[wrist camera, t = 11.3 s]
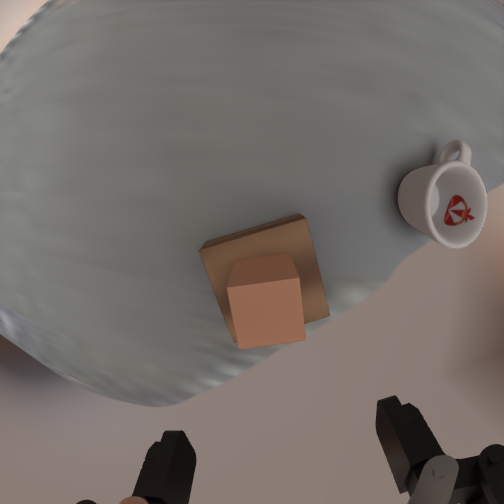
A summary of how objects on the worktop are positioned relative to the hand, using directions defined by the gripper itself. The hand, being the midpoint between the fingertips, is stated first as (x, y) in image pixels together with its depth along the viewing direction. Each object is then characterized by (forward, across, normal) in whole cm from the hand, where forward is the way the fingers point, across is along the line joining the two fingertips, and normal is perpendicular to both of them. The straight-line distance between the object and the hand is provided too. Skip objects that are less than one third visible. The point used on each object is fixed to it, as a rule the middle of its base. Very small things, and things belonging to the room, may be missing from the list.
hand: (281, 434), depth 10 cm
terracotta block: (+18, 0, 0) cm, 18 cm away
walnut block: (+22, 0, 0) cm, 22 cm away
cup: (+22, -19, -6) cm, 30 cm away
